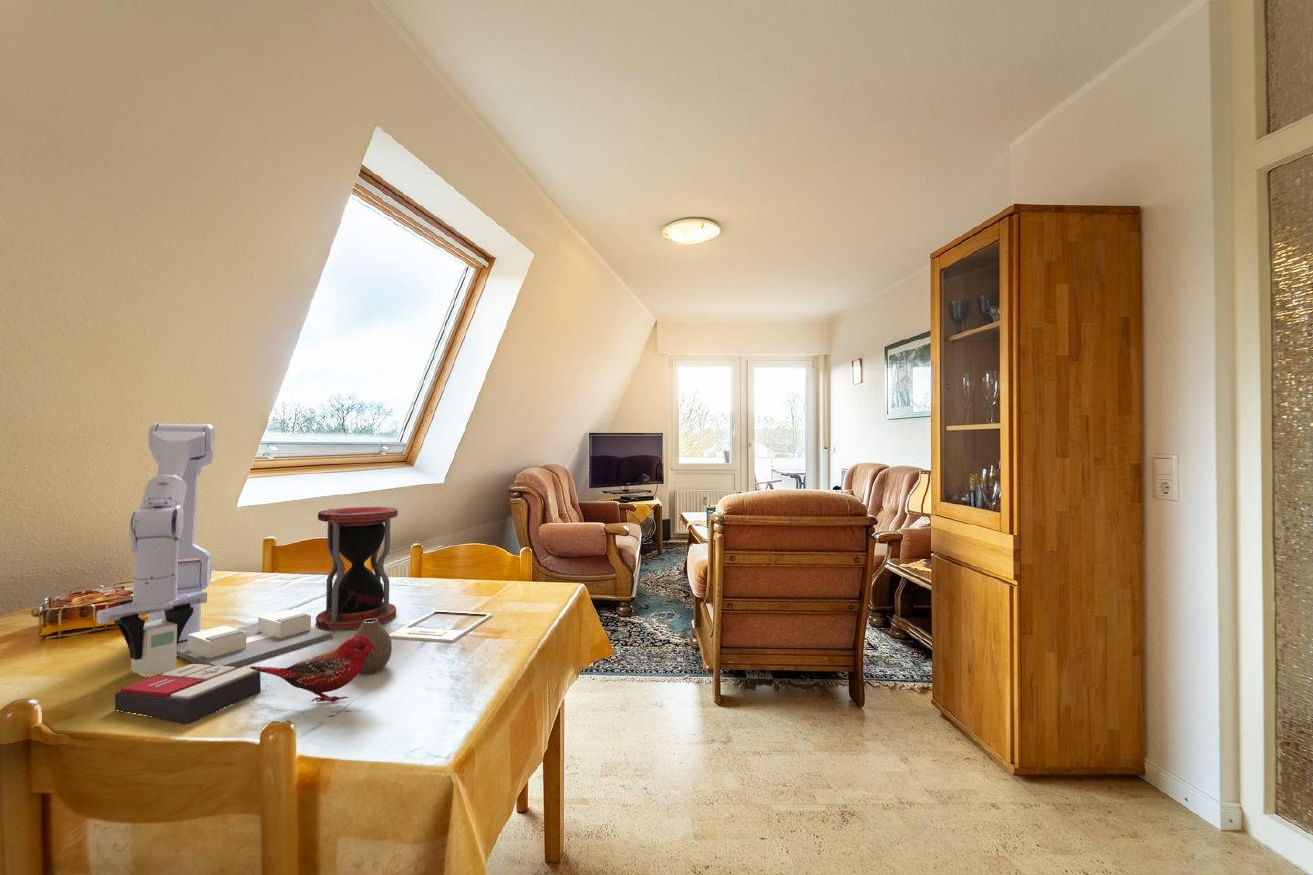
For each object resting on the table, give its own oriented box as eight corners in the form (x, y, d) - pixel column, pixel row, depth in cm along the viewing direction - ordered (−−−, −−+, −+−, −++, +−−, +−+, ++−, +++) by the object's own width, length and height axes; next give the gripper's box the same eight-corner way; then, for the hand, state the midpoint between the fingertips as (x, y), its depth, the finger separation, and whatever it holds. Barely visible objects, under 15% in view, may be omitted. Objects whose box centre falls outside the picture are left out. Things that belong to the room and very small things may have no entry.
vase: (346, 681, 92) (347, 629, 92) (348, 666, 98) (348, 617, 98) (391, 673, 95) (392, 623, 95) (390, 660, 101) (391, 612, 101)
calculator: (193, 660, 92) (261, 665, 88) (193, 686, 92) (262, 693, 88) (113, 688, 81) (187, 695, 77) (113, 717, 81) (187, 726, 77)
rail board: (165, 651, 104) (165, 629, 104) (278, 622, 122) (278, 603, 122) (219, 672, 95) (219, 647, 95) (332, 637, 113) (333, 617, 113)
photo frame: (386, 634, 113) (435, 609, 131) (386, 639, 113) (435, 614, 131) (452, 638, 111) (492, 612, 128) (452, 644, 110) (492, 617, 128)
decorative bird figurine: (373, 701, 84) (374, 637, 84) (243, 712, 81) (244, 645, 81) (378, 693, 87) (379, 630, 87) (253, 703, 83) (254, 638, 84)
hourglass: (349, 607, 134) (351, 505, 134) (410, 610, 132) (412, 507, 132) (297, 628, 118) (300, 513, 119) (365, 632, 116) (368, 514, 116)
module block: (131, 671, 95) (132, 625, 95) (160, 663, 99) (161, 619, 99) (147, 678, 92) (148, 630, 93) (176, 669, 96) (177, 624, 96)
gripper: (110, 587, 88) (107, 672, 87) (216, 570, 101) (214, 644, 100) (92, 582, 91) (89, 664, 91) (197, 566, 104) (195, 638, 104)
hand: (154, 653), depth 96 cm, fingers open, 4 cm apart
